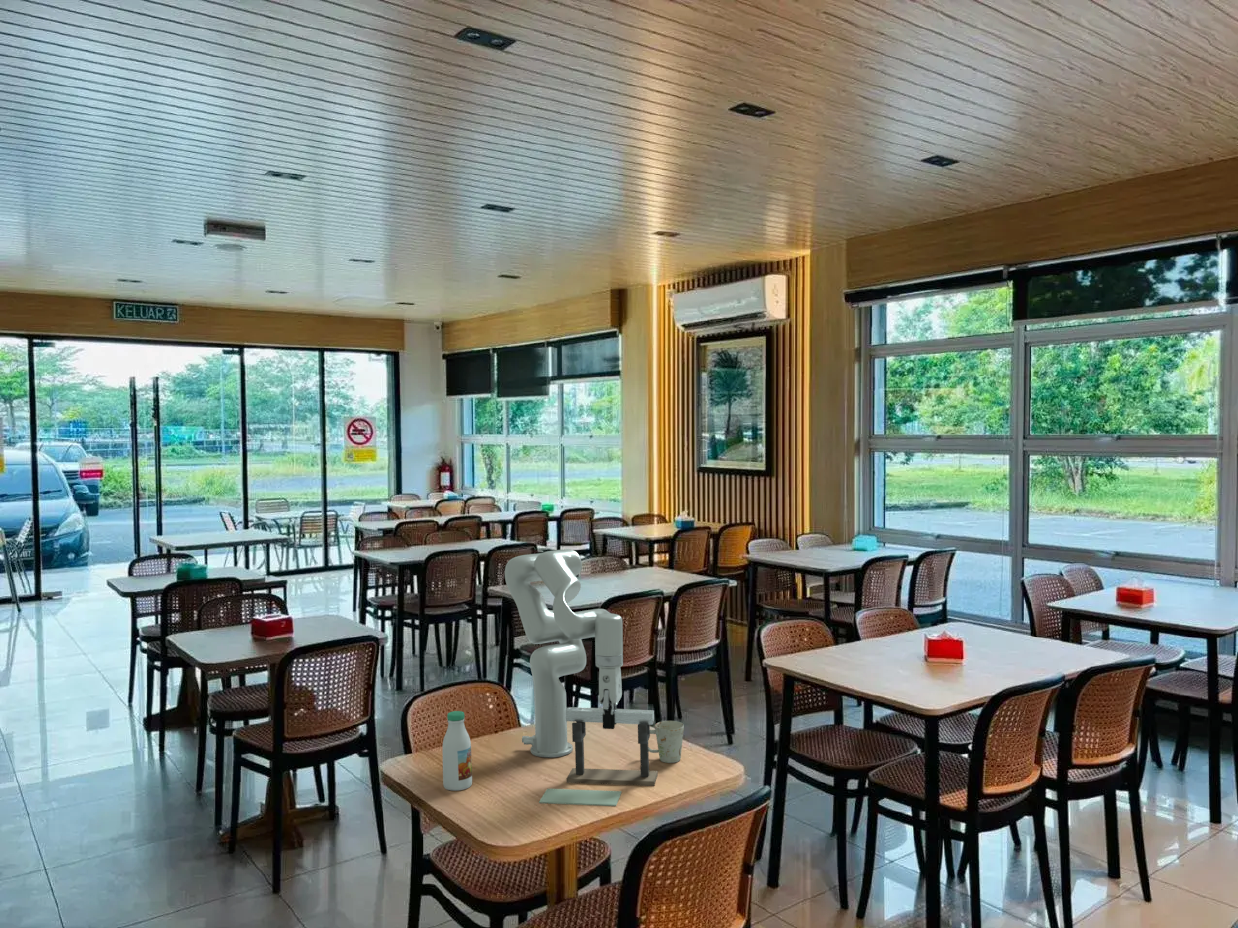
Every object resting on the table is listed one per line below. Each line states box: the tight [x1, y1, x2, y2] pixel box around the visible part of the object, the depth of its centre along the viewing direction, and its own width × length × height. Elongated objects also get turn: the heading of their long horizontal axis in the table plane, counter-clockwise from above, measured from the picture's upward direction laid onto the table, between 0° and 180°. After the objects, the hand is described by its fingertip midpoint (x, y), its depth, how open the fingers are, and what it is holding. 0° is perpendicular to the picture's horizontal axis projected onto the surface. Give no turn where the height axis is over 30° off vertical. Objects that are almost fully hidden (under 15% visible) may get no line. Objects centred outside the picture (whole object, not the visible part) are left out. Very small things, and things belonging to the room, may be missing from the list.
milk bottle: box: [442, 710, 473, 792], centre depth 248 cm, size 8×8×20 cm
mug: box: [648, 720, 685, 764], centre depth 266 cm, size 8×13×10 cm, turn 79°
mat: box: [538, 788, 623, 807], centre depth 238 cm, size 20×9×1 cm, turn 81°
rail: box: [566, 706, 655, 726], centre depth 251 cm, size 24×3×3 cm, turn 81°
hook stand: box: [565, 722, 659, 787], centre depth 251 cm, size 24×8×16 cm, turn 81°
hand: (609, 725), depth 251 cm, fingers closed on rail, 3 cm apart
